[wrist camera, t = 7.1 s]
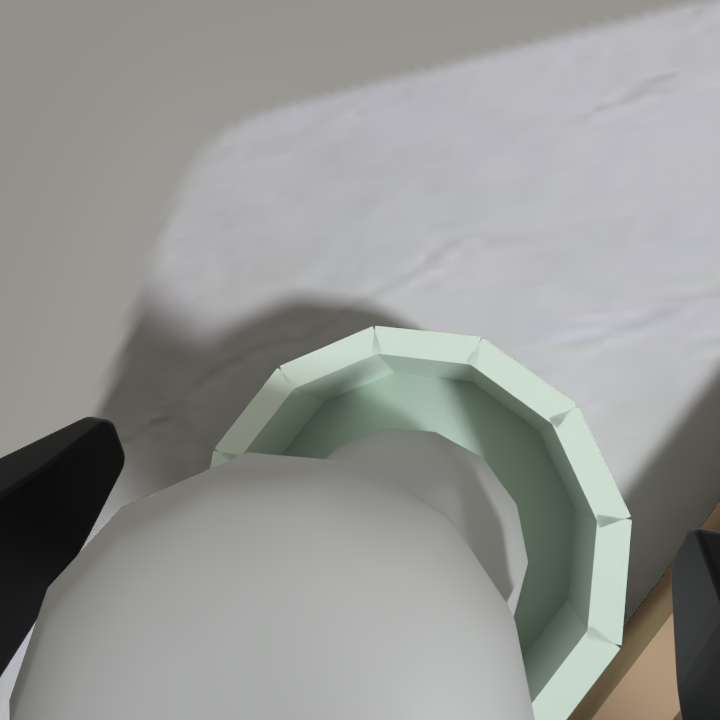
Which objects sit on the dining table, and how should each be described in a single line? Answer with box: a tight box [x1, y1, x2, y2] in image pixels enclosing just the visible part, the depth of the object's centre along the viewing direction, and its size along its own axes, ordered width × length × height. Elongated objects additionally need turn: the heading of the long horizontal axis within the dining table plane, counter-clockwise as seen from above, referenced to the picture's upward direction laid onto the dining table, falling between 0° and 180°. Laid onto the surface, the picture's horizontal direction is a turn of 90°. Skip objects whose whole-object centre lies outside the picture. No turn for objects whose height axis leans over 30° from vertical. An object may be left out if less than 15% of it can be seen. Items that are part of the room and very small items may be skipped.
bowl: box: [210, 326, 632, 720], centre depth 15 cm, size 10×10×4 cm
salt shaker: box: [10, 428, 535, 720], centre depth 10 cm, size 6×6×13 cm
